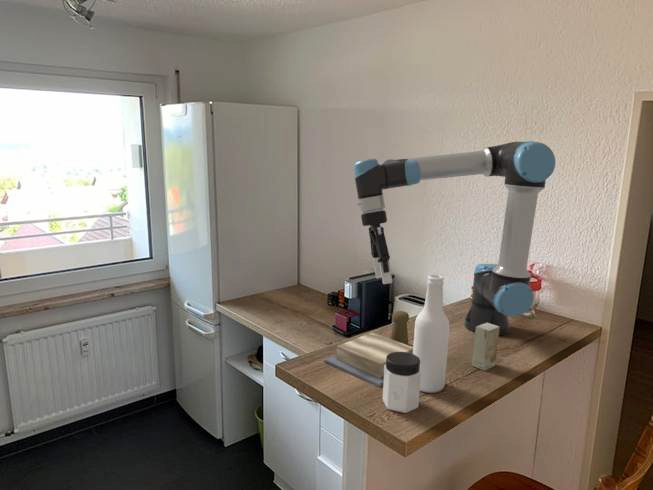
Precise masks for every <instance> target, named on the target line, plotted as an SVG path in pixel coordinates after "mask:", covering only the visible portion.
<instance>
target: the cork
mask: <svg viewBox="0 0 653 490" xmlns="http://www.w3.org/2000/svg"><path fill="white" fill-rule="evenodd" d="M391 319H392V321H393V324H392V328H391V329H392V330H391V334H390V339H391V340H394V341H397V342H400V343H403V344H405V345H408V346H409V334H408V333H409V332H408V322H409V319H410V315H409V313H408V312H406V311H404V310H395V311H394V312H393V313H392V317H391Z"/></svg>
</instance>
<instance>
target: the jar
mask: <svg viewBox="0 0 653 490" xmlns="http://www.w3.org/2000/svg"><path fill="white" fill-rule="evenodd" d="M419 369H420V359H419V358H418V357H417V356H416V355H414V354H411V353H407V352H393V353H390V354H388V355H387V357H386V365H385V366H384V383H383V385H382V387H383V388H382V401H383V403H384V405H385V407H386V409H387V410H391V411H394V412H395V411H396V412H399V413H405V414H407V413H409V412H411V411H413V410H416V409H418V408H419V406H420V405H419V403H420V392H421V391H420V378H421V372H420V370H419Z"/></svg>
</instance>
